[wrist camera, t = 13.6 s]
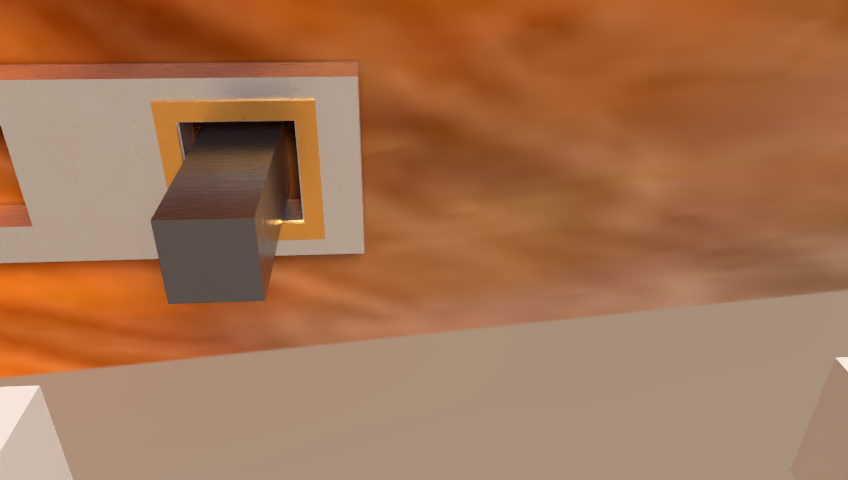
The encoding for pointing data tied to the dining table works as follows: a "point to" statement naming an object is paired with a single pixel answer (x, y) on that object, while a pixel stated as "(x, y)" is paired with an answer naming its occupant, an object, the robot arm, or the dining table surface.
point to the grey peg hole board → (167, 151)
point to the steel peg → (224, 214)
